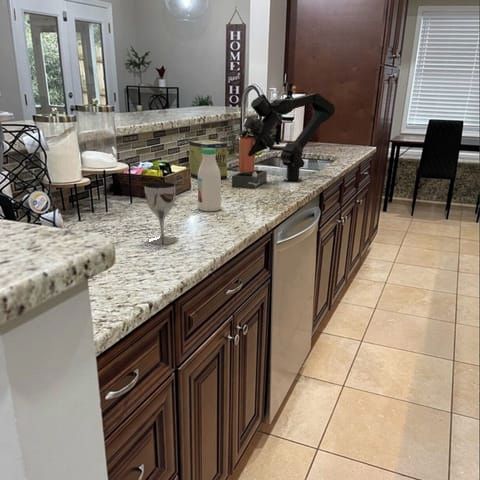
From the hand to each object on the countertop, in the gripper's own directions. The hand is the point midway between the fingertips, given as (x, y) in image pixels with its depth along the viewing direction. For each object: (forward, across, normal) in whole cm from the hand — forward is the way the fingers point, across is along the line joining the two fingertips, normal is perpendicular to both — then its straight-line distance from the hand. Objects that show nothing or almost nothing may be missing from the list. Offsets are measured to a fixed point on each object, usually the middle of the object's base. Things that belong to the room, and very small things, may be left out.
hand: (244, 154), depth 205 cm
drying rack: (+6, -2, +12) cm, 14 cm away
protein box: (+11, -25, +7) cm, 28 cm away
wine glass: (+54, +54, -36) cm, 84 cm away
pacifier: (+6, +3, +8) cm, 10 cm away
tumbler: (+4, 0, +6) cm, 7 cm away
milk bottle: (+33, +28, -15) cm, 46 cm away
